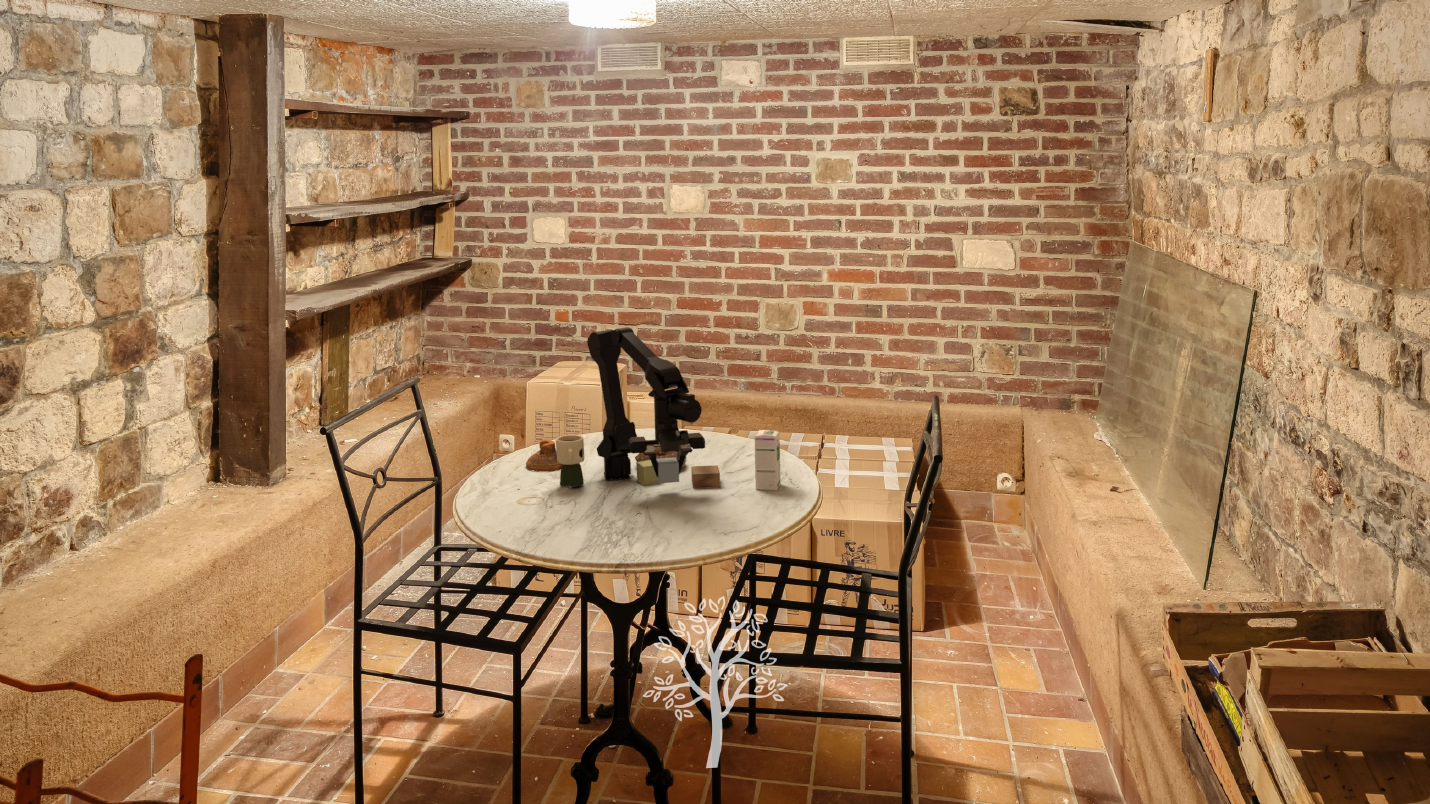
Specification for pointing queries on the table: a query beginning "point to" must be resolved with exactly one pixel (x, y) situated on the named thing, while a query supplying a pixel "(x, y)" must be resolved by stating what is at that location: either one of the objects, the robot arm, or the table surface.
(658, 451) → the donut
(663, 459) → the slate cube
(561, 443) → the character mug
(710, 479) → the walnut slab
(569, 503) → the table surface
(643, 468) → the olive cube
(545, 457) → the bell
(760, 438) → the syrup box
